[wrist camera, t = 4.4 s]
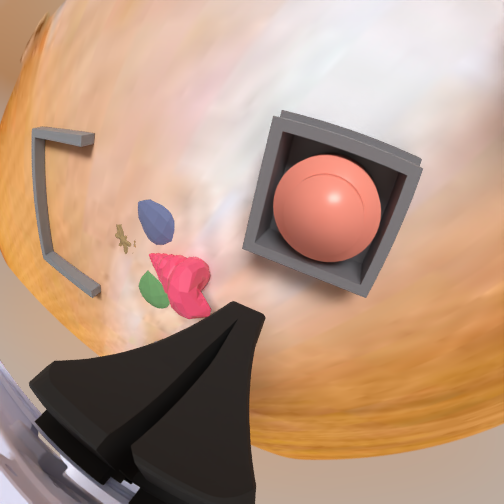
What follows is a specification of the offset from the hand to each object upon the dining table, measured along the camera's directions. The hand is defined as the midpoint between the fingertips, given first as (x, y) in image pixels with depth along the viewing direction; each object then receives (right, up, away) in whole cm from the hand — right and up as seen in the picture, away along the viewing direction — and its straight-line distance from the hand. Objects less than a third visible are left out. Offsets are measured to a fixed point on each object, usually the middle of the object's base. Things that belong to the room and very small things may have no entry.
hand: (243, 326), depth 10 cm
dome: (+5, +6, +4) cm, 8 cm away
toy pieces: (-8, +3, +13) cm, 15 cm away
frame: (-20, +8, +15) cm, 27 cm away
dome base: (+5, +6, +5) cm, 9 cm away
